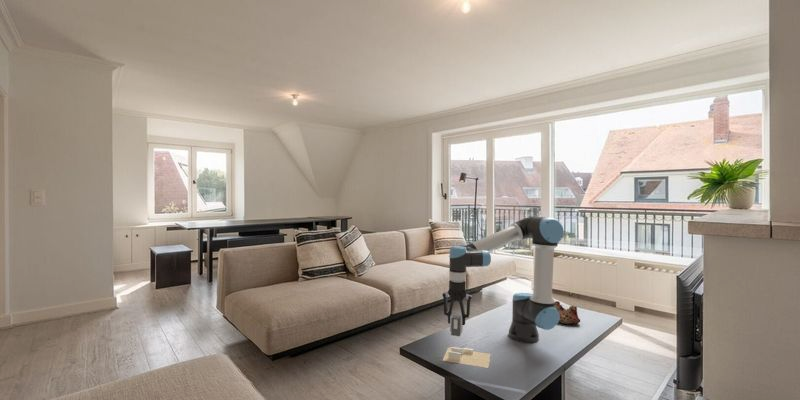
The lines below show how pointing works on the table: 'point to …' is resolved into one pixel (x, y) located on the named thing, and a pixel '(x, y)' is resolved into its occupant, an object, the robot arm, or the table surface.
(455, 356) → the board
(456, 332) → the plug
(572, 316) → the coral
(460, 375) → the table surface
